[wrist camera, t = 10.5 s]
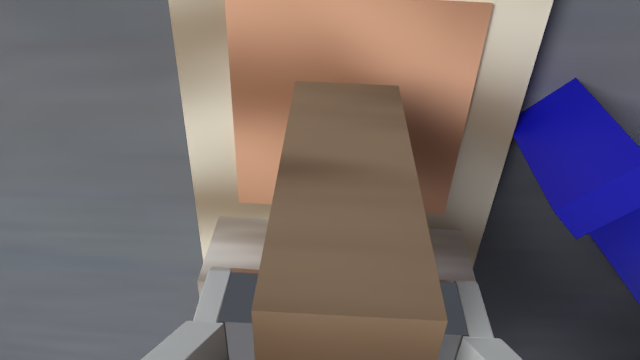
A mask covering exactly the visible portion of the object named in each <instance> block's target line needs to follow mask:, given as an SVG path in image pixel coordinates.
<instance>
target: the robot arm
mask: <svg viewBox="0 0 640 360" xmlns="http://www.w3.org/2000/svg"><path fill="white" fill-rule="evenodd" d="M258 273H259V270H254V269H242V268H224V267H211V268H210V270H209V271H208V274H207V277H206V280H205V284H204V287H203V290H202V293H201V296H200V300H199V303H198V306H197V309H196V312H195V316H194V319H193V321H186V322H185V323H183V324H182V325H181V326H180V327H179V328H177V329H176V330H175V331H174V332H173V333H172V334H170V335H169V336H168V337H167V338H166V339H165V340H163V341H162V342H161V343H160V344H159V345H157V346H156V347H155V348H154V349H153V350H152V351H150V352H149V353H148V354H147V355H146V356H144V357H143V358H142V359H141V360H255V356H254V342H253V328H252V314H251V310H252V304H253V299H254V294H255V289H256V284H257V278H258ZM439 281H440V286H441V291H442V296H443V300H444V305H445V310H446V315H447V320H448V323H447V326H446V330H445V333H444V337H443V340H442V344H441V347H440V351H439V355H438V358H437V360H523V359H522V358H521V357H520V356H519V355H517V354H516V353H515V352H514V351H513V350H512V349H511V348H510V347H509V346H508V345H507V344H506V343H505V342H504V341H503V340H502V339H499V338H494V335H493V332H492V328H491V325H490V322H489V318H488V315H487V312H486V308H485V305H484V302H483V298H482V295H481V292H480V288H479V285H478V284H477V282H476V281H461V280H454V281H453V280H440V279H439Z"/></svg>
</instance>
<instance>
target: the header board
mask: <svg viewBox="0 0 640 360" xmlns="http://www.w3.org/2000/svg"><path fill="white" fill-rule="evenodd" d="M168 1H169V9H170V16H171V24H172V31H173V39H174V46H175V54H176V61H177V68H178V76H179V83H180V91H181V98H182V106H183V113H184V121H185V128H186V136H187V143H188V151H189V158H190V166H191V173H192V180H193V188H194V195H195V203H196V210H197V218H198V225H199V233H200V240H201V248H202V255H203V266H202V269H201V272H200V275H199V278H198V281H197V283H198V289H199V296H201V293H202V290H203V287H204V284H205V280H206V277H207V274H208V271H209V270H210V268H211V267H224V268H242V269H254V270H259V268H260V263H261V257H262V252H263V247H264V242H265V237H266V231H267V226H268V221H269V216H270V210H271V205H272V200H273V195H274V190H275V184H276V179H277V174H278V169H279V163H280V158H281V153H282V148H283V143H284V137H285V132H286V127H287V122H288V117H289V111H290V106H291V101H292V96H293V90H294V85H295V81H310V82H331V83H352V84H373V85H394V86H399V90H400V95H401V100H402V105H403V109H404V114H405V119H406V124H407V128H408V133H409V138H410V143H411V148H412V152H413V157H414V162H415V167H416V171H417V176H418V181H419V186H420V191H421V195H422V200H423V205H424V210H425V214H426V219H427V224H428V229H429V234H430V238H431V243H432V248H433V253H434V257H435V262H436V267H437V272H438V277H439V279H440V280H453V281H454V280H461V281H476V279H475V276H474V272H473V266H474V263H475V259H476V256H477V253H478V249H479V246H480V243H481V239H482V236H483V233H484V229H485V226H486V223H487V219H488V216H489V213H490V209H491V206H492V203H493V200H494V196H495V193H496V190H497V186H498V183H499V180H500V176H501V173H502V170H503V166H504V163H505V160H506V156H507V153H508V150H509V147H510V143H511V140H512V137H513V133H514V130H515V127H516V123H517V120H518V117H519V113H520V110H521V107H522V103H523V100H524V97H525V94H526V90H527V87H528V84H529V80H530V77H531V74H532V70H533V67H534V64H535V60H536V57H537V54H538V50H539V47H540V44H541V41H542V37H543V34H544V31H545V27H546V24H547V21H548V17H549V14H550V11H551V7H552V4H553V1H554V0H168Z"/></svg>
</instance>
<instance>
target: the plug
mask: <svg viewBox="0 0 640 360" xmlns="http://www.w3.org/2000/svg"><path fill="white" fill-rule="evenodd" d="M251 314H252V328H253V342H254V356H255V360H437V358H438V355H439V351H440V347H441V344H442V340H443V337H444V333H445V330H446V326H447V323H448V320H447V315H446V310H445V305H444V300H443V296H442V291H441V286H440V281H439V277H438V272H437V267H436V262H435V257H434V253H433V248H432V243H431V238H430V234H429V229H428V224H427V219H426V214H425V210H424V205H423V200H422V195H421V191H420V186H419V181H418V176H417V171H416V167H415V162H414V157H413V152H412V148H411V143H410V138H409V133H408V128H407V124H406V119H405V114H404V109H403V105H402V100H401V95H400V90H399V86H394V85H373V84H352V83H331V82H310V81H295V85H294V90H293V96H292V101H291V106H290V111H289V117H288V122H287V127H286V132H285V137H284V143H283V148H282V153H281V158H280V163H279V169H278V174H277V179H276V184H275V190H274V195H273V200H272V205H271V210H270V216H269V221H268V226H267V231H266V237H265V242H264V247H263V252H262V257H261V263H260V268H259V273H258V278H257V284H256V289H255V294H254V299H253V304H252V310H251Z"/></svg>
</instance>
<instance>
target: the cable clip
mask: <svg viewBox="0 0 640 360" xmlns="http://www.w3.org/2000/svg"><path fill="white" fill-rule="evenodd" d="M513 136H514V138H515V140H516V142H517V144H518V146H519V148H520V149H521V151H522V153H523V155H524V157H525V159H526V161H527V162H528V164H529V166H530V168H531V170H532V172H533V174H534V176H535V177H536V179H537V181H538V183H539V185H540V187H541V189H542V190H543V192H544V194H545V196H546V198H547V200H548V202H549V203H550V205H551V207H552V209H553V211H554V212H555V214H556V215H557V216H558V217H559V219H560V220H561V221H562V222H563V224H564V225H565V226H566V227H567V229H568V230H569V231H570V232H571V234H572V235H573V236H574V237H575V239H578V238H580V237H582V236H584V235H586V234H588V233H589V235H590V236H591V237H592V239H593V240H594V241H595V243H596V244H597V245H598V247H599V248H600V250H601V251H602V252H603V254H604V255H605V256H606V258H607V259H608V261H609V262H610V263H611V265H612V266H613V268H614V269H615V271H616V272H617V273H618V275H619V276H620V278H621V279H622V281H623V282H624V283H625V285H626V286H627V288H628V289H629V291H630V292H631V294H632V295H633V297H634V298H635V300H636V301H637V303H638V304H639V306H640V147H639V146H638V145H637V144H636V143H635V142H634V141H633V140H632V139H631V138H630V137H629V135H628V134H627V133H626V132H625V131H624V130H623V129H622V128H621V127H620V126H619V124H618V123H617V122H616V121H615V120H614V119H613V118H612V117H611V116H610V115H609V114H608V112H607V111H606V110H605V109H604V108H603V107H602V106H601V105H600V104H599V103H598V101H597V100H596V99H595V98H594V97H593V96H592V95H591V94H590V93H589V92H588V91H587V89H586V88H585V87H584V86H583V85H582V84H581V83H580V82H579V81H578V80H577V79H576V78H575V79H573V80H571V81H570V82H568V83H567V84H565V85H564V86H562V87H561V88H559V89H557V90H556V91H554V92H553V93H551V94H550V95H548V96H547V97H545V98H544V99H542V100H540V101H539V102H537V103H536V104H534V105H533V106H531V107H530V108H528V109H526V110H525V111H523V112H522V113H520V114H519V117H518V120H517V123H516V127H515V130H514V133H513Z"/></svg>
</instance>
